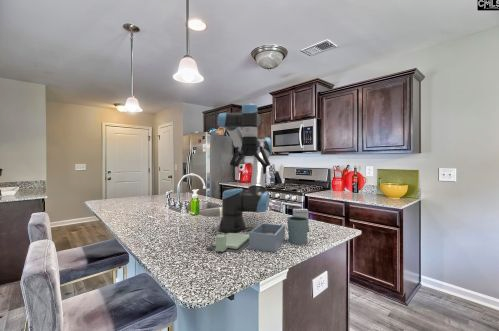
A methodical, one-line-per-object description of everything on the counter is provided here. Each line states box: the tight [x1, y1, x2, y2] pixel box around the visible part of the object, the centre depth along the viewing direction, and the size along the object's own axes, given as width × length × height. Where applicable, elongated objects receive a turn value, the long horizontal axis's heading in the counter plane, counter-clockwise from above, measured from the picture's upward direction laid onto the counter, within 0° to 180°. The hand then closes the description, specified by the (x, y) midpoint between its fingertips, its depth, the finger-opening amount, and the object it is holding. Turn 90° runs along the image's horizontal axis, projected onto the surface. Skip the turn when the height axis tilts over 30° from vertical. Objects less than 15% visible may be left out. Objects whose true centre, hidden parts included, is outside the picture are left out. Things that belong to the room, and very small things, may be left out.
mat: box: [206, 240, 249, 254], centre depth 118 cm, size 16×22×1 cm
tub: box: [248, 222, 286, 253], centre depth 116 cm, size 12×18×8 cm, turn 160°
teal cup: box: [286, 215, 309, 246], centre depth 120 cm, size 10×10×12 cm
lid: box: [211, 232, 249, 252], centre depth 115 cm, size 12×23×7 cm, turn 160°
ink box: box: [292, 208, 310, 232], centre depth 143 cm, size 9×5×12 cm, turn 84°
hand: (249, 180), depth 121 cm, fingers open, 13 cm apart
